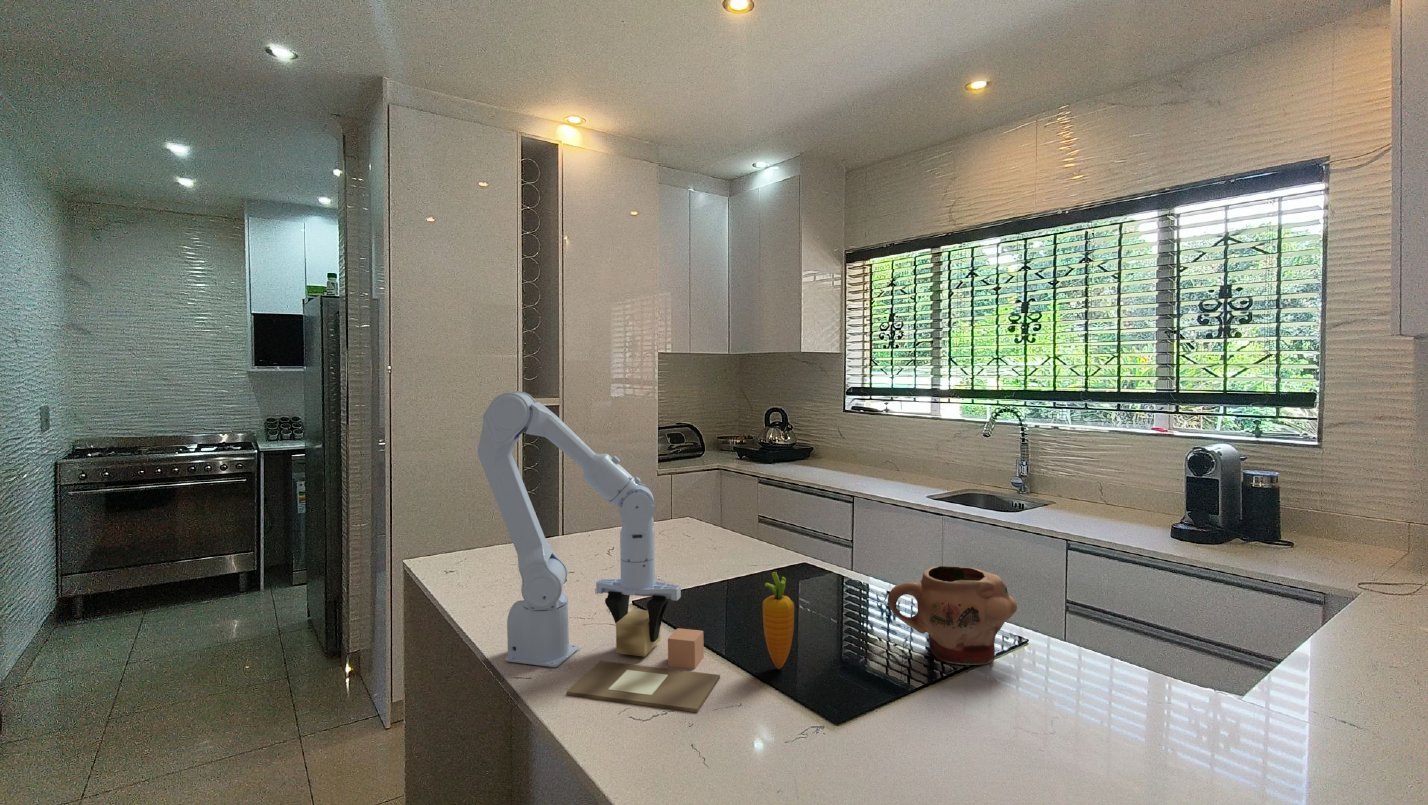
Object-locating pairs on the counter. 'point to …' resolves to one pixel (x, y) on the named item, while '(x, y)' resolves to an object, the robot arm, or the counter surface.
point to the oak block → (634, 634)
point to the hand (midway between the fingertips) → (638, 638)
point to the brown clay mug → (958, 612)
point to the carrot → (778, 622)
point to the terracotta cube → (685, 648)
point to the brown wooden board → (646, 686)
